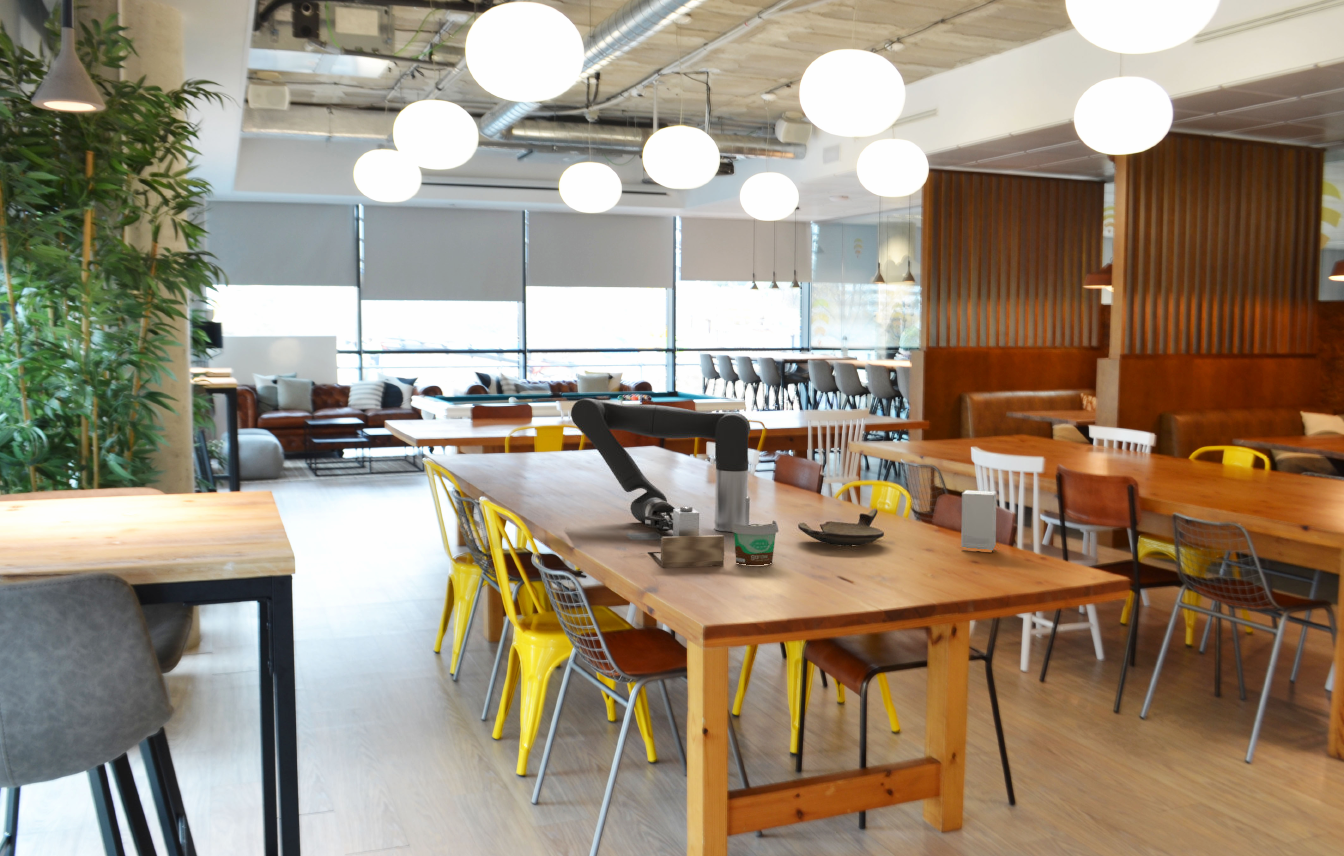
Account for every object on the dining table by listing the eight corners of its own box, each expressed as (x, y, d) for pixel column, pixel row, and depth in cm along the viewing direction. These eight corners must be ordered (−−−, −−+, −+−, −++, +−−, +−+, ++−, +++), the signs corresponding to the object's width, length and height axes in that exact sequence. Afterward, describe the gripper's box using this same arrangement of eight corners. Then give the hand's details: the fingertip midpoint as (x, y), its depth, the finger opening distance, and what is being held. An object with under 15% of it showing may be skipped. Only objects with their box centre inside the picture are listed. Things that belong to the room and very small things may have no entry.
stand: (657, 538, 285) (657, 532, 284) (664, 544, 276) (664, 538, 276) (624, 538, 282) (624, 533, 282) (631, 545, 274) (631, 539, 274)
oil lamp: (778, 541, 284) (779, 513, 283) (865, 532, 299) (866, 506, 298) (830, 557, 265) (831, 527, 264) (919, 547, 280) (920, 518, 279)
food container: (744, 569, 249) (745, 527, 248) (730, 564, 254) (731, 523, 253) (787, 565, 254) (788, 524, 253) (773, 560, 260) (774, 520, 259)
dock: (703, 549, 271) (703, 521, 270) (723, 565, 252) (724, 536, 251) (646, 551, 267) (646, 523, 266) (662, 567, 249) (663, 537, 248)
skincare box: (995, 549, 278) (998, 491, 276) (992, 554, 272) (995, 494, 270) (963, 546, 281) (966, 489, 280) (959, 550, 275) (961, 492, 274)
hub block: (692, 552, 261) (693, 505, 260) (698, 557, 255) (699, 509, 254) (672, 552, 260) (673, 505, 259) (678, 557, 254) (679, 509, 253)
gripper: (637, 501, 282) (650, 512, 266) (685, 501, 286) (701, 511, 269) (636, 529, 283) (650, 542, 266) (684, 528, 286) (700, 540, 269)
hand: (675, 526), depth 268 cm, fingers closed
